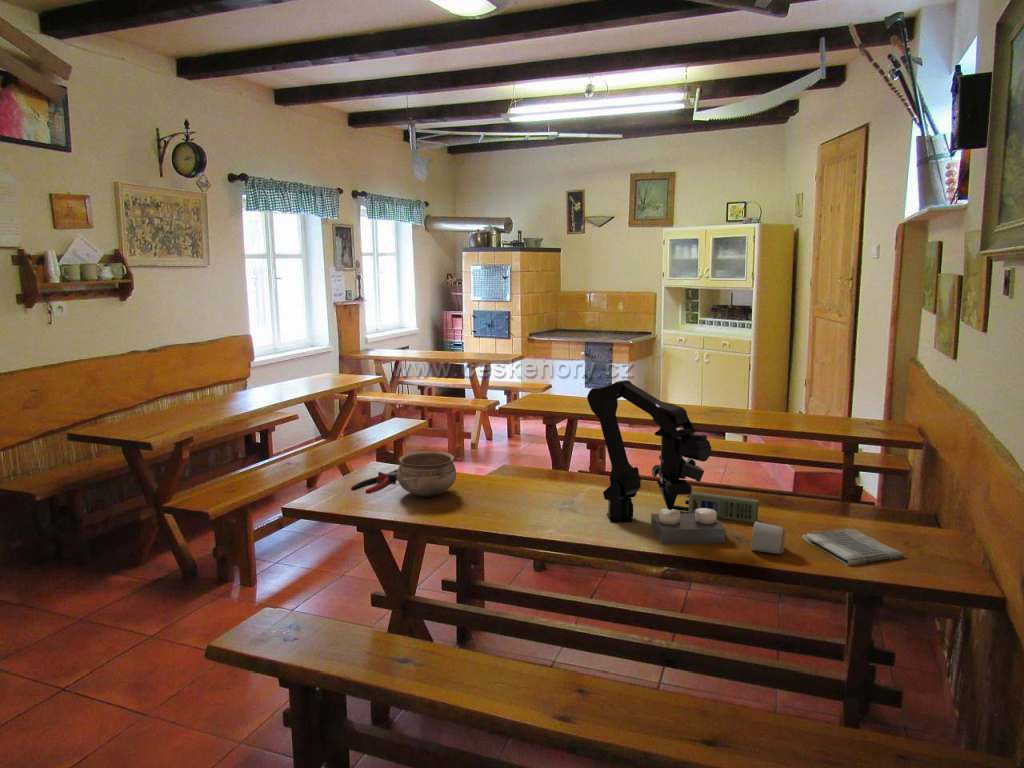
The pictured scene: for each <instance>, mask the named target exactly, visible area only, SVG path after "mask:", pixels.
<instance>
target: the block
mask: <svg viewBox="0 0 1024 768" xmlns="http://www.w3.org/2000/svg"><path fill="white" fill-rule="evenodd" d="M785 540H786V529H785V528H784V527H781V526H778V525H774V524H769V523H765V522H759V521H757V522H755V523H753V528H752V535H751V544H750V545H751V546H750V547H751V548H750V549H751V550H752V551H754V552H755V551H756V552H760V553H761V552H762V553H769V554H774V555H782V554H783V553H784V550H785V542H786V541H785Z"/></svg>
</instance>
